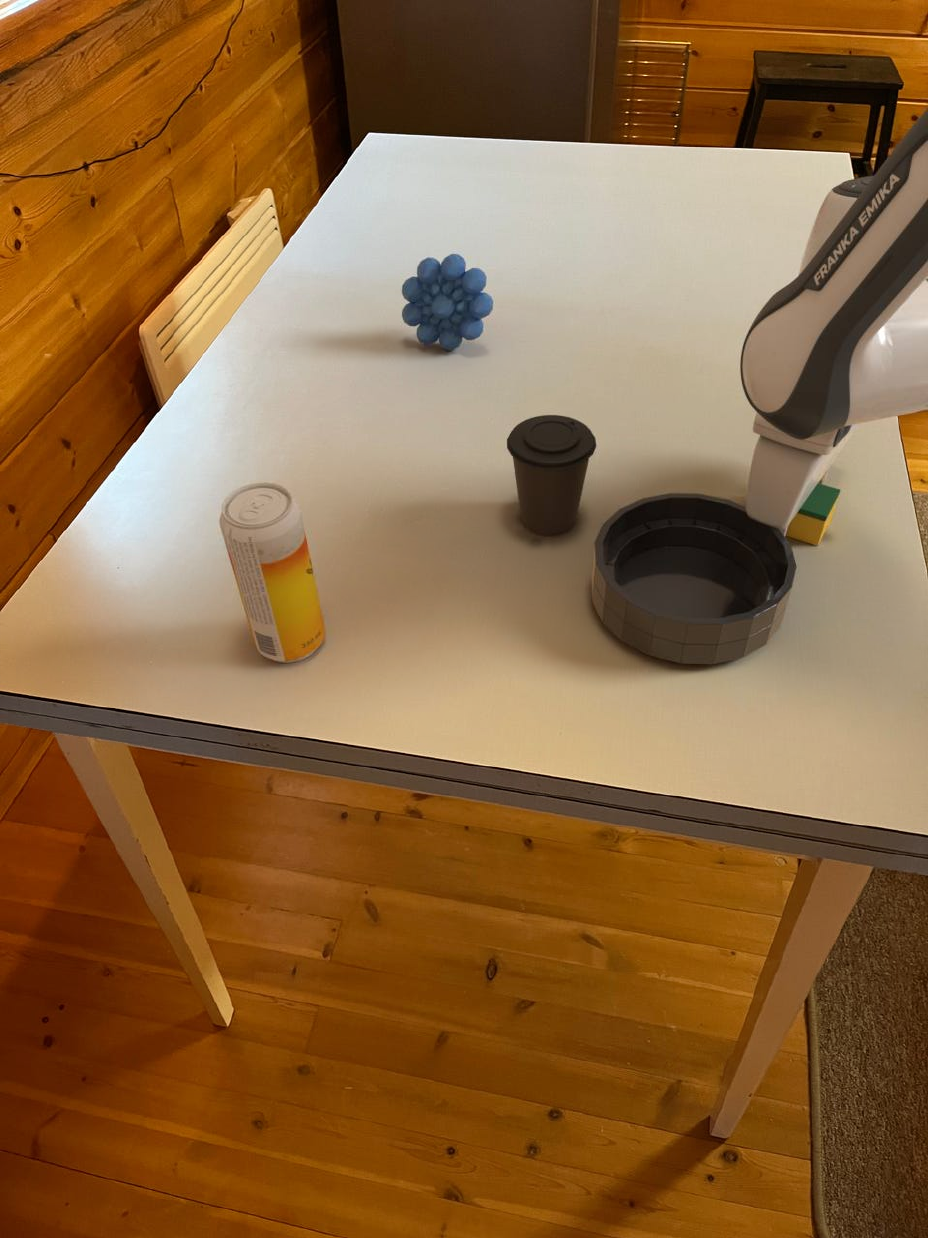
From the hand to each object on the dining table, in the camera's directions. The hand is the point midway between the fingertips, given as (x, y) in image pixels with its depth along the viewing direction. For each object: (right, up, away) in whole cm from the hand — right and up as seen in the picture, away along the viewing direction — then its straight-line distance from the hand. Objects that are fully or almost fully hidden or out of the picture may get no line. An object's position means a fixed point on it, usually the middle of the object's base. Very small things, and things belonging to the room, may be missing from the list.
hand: (794, 508), depth 87 cm
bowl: (-12, -9, -6) cm, 16 cm away
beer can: (-46, -12, -7) cm, 48 cm away
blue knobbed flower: (-33, +23, +27) cm, 48 cm away
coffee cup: (-23, -1, +3) cm, 23 cm away
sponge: (0, -1, +1) cm, 2 cm away
